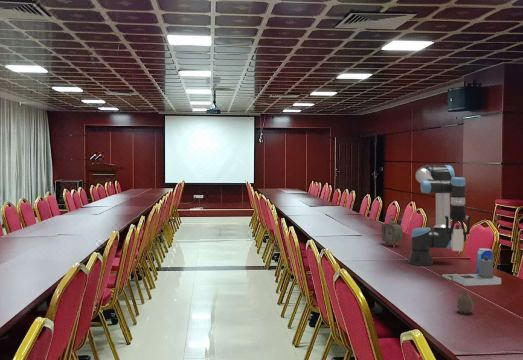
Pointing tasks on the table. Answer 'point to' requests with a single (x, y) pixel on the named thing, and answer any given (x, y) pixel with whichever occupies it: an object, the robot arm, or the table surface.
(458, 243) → the plug
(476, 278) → the metal socket frame
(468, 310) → the grey rounded lump
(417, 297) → the table surface
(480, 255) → the beer can
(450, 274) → the tray
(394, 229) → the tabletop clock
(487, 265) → the twin plug
